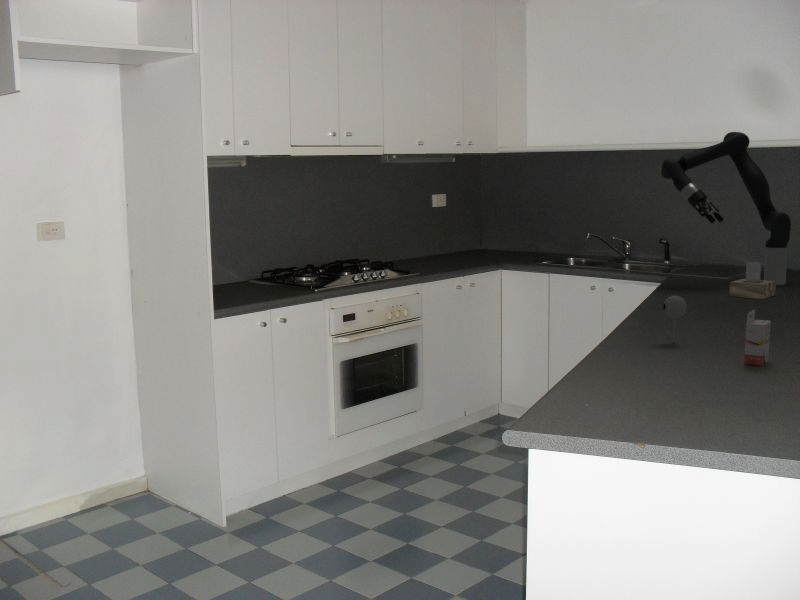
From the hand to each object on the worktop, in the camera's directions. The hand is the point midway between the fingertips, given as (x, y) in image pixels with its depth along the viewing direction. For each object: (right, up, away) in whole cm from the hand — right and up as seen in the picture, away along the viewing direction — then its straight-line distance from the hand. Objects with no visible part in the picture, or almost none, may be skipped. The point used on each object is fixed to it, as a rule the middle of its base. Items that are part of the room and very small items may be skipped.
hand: (718, 221), depth 386 cm
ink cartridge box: (-37, -52, -135) cm, 149 cm away
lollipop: (-52, -48, -105) cm, 126 cm away
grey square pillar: (+11, -32, -10) cm, 36 cm away
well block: (+11, -32, -10) cm, 36 cm away
